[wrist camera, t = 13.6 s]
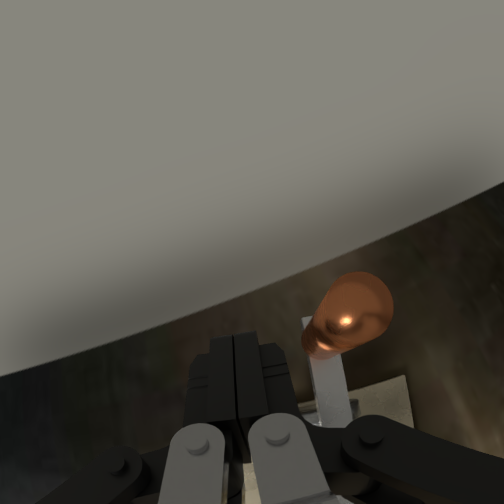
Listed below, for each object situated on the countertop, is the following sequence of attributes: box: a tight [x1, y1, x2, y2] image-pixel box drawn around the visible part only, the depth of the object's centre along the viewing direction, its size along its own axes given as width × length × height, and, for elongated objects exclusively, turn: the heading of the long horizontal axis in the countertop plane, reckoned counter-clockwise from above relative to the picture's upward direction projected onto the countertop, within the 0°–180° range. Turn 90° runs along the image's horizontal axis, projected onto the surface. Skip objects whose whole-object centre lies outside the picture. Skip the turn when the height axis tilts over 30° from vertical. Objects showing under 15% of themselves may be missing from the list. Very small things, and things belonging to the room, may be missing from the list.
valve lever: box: [300, 272, 394, 504], centre depth 11 cm, size 17×3×9 cm, turn 9°
